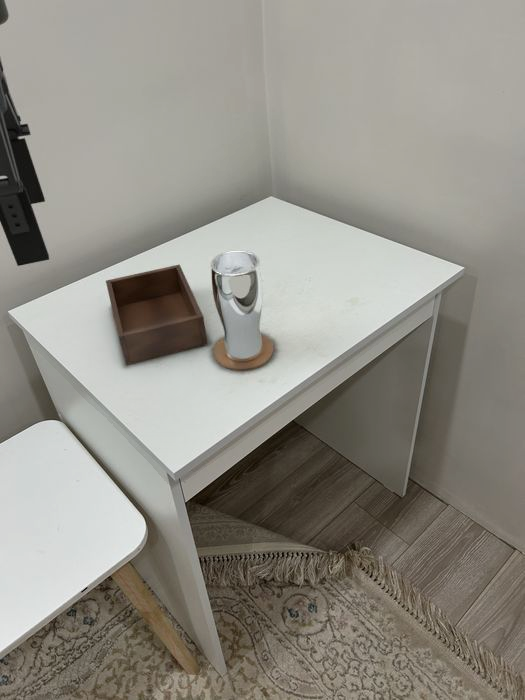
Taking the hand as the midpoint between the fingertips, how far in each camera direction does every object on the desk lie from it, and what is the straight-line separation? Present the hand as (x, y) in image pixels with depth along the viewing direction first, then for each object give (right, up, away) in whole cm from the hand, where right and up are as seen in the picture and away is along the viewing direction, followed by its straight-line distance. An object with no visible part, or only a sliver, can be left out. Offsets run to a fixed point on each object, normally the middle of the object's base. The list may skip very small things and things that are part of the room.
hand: (32, 229), depth 54 cm
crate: (+6, -8, +35) cm, 37 cm away
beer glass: (+20, -12, +29) cm, 37 cm away
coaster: (+20, -12, +29) cm, 37 cm away
